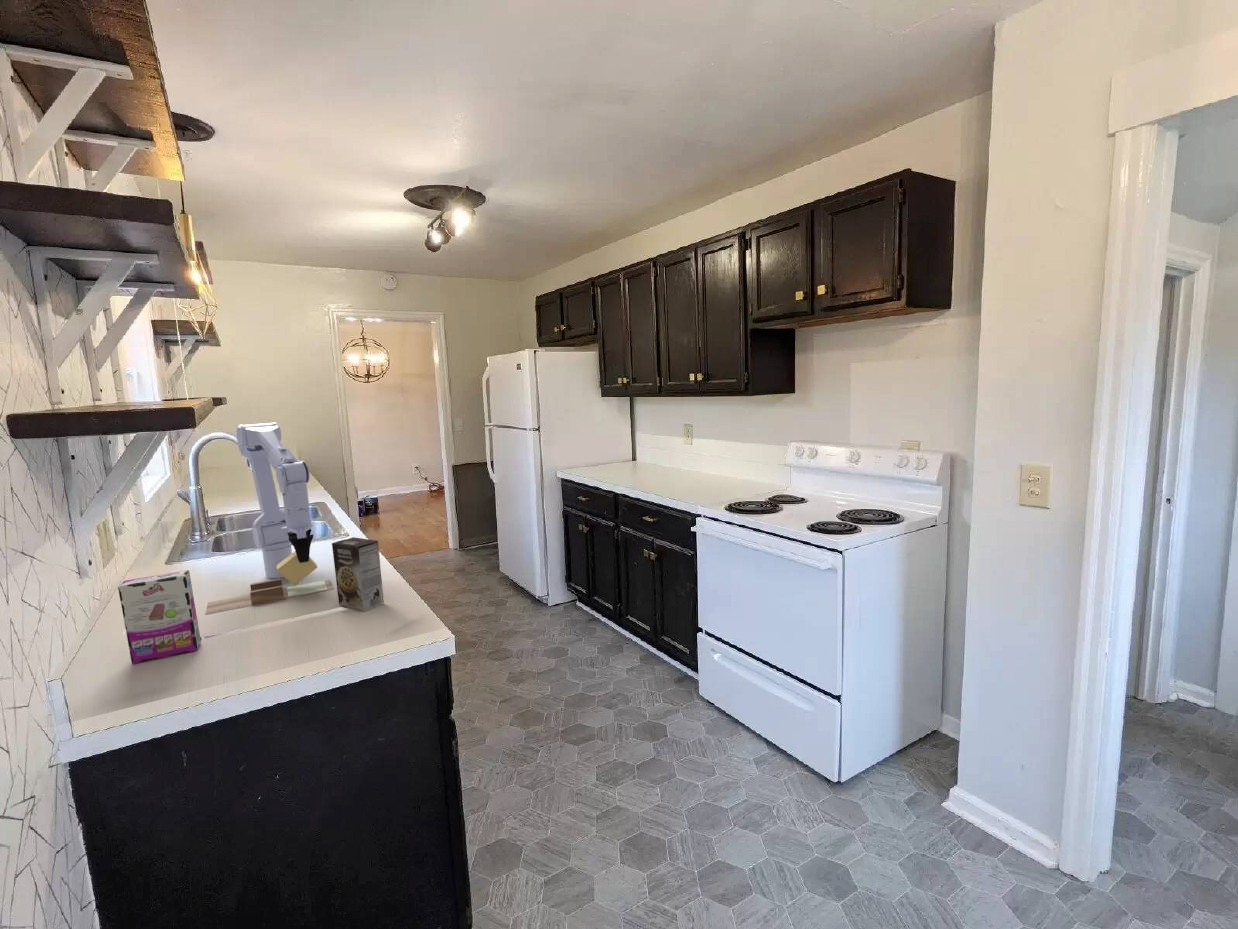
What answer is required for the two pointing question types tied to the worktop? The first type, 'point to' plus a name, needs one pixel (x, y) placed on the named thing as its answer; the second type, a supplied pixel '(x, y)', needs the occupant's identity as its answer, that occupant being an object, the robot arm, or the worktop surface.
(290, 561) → the ochre block
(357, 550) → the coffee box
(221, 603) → the pocket board
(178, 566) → the worktop surface
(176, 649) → the candy bar box
